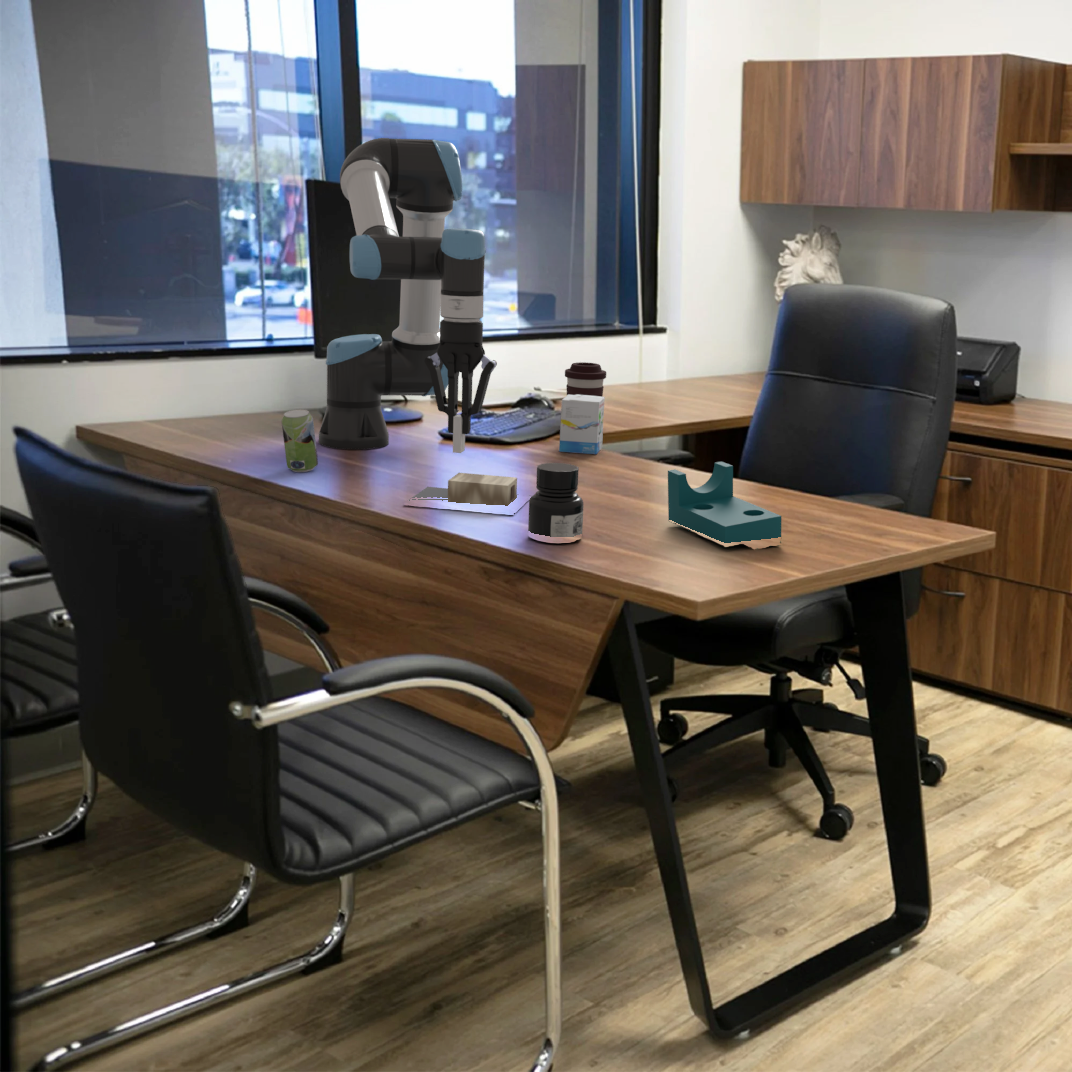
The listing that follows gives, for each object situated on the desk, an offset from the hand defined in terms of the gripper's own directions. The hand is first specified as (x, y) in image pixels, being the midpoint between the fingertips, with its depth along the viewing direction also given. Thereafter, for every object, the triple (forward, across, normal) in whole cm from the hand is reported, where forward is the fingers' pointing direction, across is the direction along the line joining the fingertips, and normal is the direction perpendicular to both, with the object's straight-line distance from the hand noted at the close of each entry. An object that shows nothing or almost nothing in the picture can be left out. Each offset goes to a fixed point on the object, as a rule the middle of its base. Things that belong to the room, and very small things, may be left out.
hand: (458, 451), depth 235 cm
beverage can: (+10, -36, +13) cm, 39 cm away
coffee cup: (+10, +8, +85) cm, 86 cm away
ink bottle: (+9, +22, -19) cm, 31 cm away
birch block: (+7, -1, 0) cm, 7 cm away
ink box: (+10, +13, +56) cm, 58 cm away
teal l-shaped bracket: (+10, +49, -8) cm, 50 cm away
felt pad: (+9, +2, 0) cm, 9 cm away
